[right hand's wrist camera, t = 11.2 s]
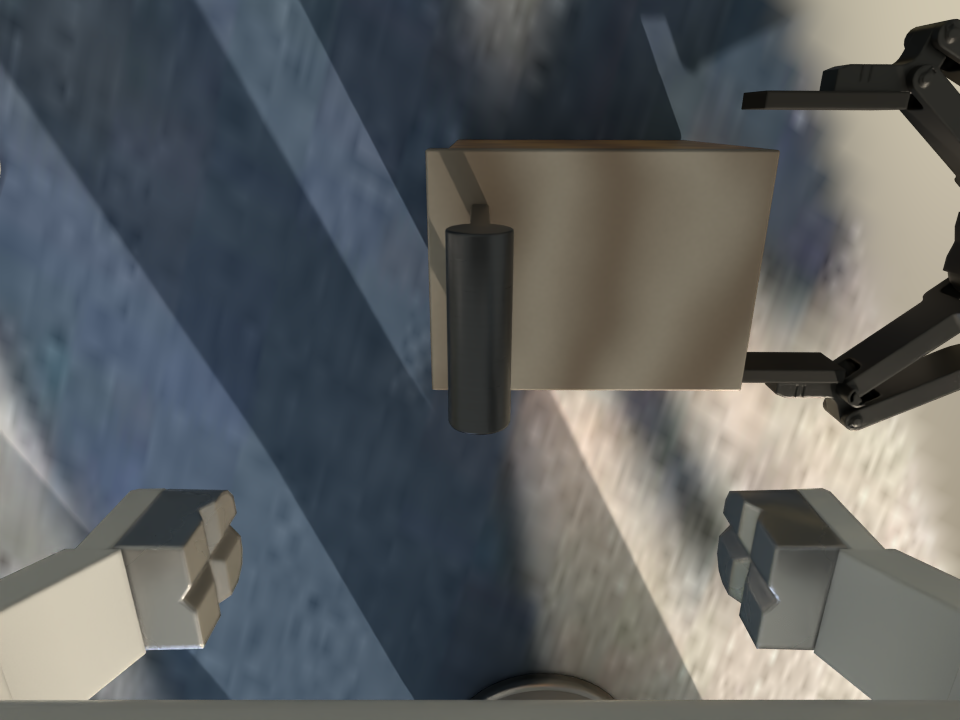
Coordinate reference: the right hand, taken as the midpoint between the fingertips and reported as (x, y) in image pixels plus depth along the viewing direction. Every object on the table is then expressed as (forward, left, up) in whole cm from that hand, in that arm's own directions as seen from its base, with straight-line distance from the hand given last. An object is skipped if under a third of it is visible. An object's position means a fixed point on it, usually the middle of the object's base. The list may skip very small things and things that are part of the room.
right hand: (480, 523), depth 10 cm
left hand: (+5, +12, -24) cm, 27 cm away
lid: (+2, +4, -18) cm, 19 cm away
